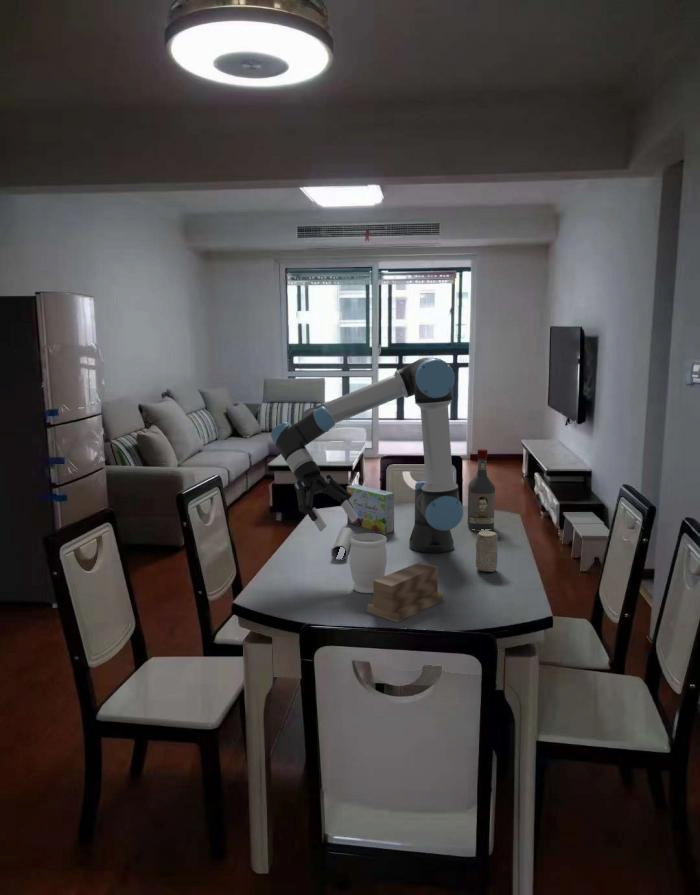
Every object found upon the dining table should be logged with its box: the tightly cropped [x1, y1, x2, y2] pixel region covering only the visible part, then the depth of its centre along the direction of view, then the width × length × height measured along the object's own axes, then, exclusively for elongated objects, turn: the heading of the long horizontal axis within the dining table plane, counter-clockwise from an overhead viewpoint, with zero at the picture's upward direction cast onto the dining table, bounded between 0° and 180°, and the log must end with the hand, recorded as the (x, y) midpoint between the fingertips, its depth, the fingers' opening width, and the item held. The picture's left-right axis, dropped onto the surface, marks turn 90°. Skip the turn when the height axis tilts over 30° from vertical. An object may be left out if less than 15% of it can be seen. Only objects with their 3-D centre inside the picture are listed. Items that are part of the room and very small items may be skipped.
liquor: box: [467, 448, 496, 530], centre depth 251 cm, size 9×9×30 cm
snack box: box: [346, 483, 395, 535], centre depth 253 cm, size 21×6×15 cm, turn 42°
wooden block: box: [367, 561, 445, 623], centre depth 176 cm, size 20×10×9 cm, turn 138°
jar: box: [348, 532, 388, 594], centre depth 189 cm, size 11×10×15 cm
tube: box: [330, 527, 354, 561], centre depth 227 cm, size 5×5×25 cm
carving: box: [475, 530, 499, 573], centre depth 204 cm, size 6×8×12 cm
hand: (339, 524), depth 195 cm, fingers open, 13 cm apart
